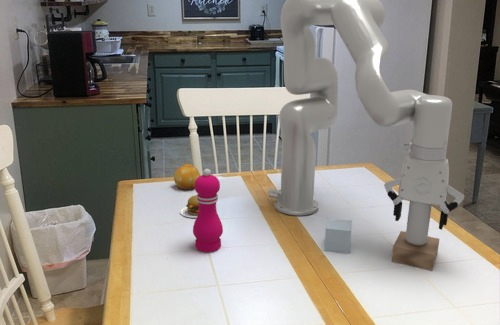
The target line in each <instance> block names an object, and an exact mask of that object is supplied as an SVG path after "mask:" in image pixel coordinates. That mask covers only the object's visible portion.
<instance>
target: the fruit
mask: <svg viewBox="0 0 500 325" xmlns="http://www.w3.org/2000/svg"><path fill="white" fill-rule="evenodd" d="M199 176H201V173H200V171H199V169H198V168H197V167H195V166H194V165H193V164H191V163H190V162H189V163H188V162H186V163H185V162H184V163H183V164H182V166H179V167H178V168H177V169H176V170H175V173H174V175H173V181H174V183H175V186H177V187H178V188H179V189H182V190H193V189H195V188H194V185H195V181H196V179H197V178H198V177H199Z"/></svg>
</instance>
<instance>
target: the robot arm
mask: <svg viewBox="0 0 500 325" xmlns="http://www.w3.org/2000/svg"><path fill="white" fill-rule="evenodd" d="M385 17H386V12H385V7H384V5H383V3H382V2H381V1H380V0H285V2H284V4H283V5H282V8H281V12H280V28H281V29H280V30H281V33H282V34H281V35H282V40H283V41H282V43H283V44H282V45H283V82H284V87H285V89H286V91H287V92H288V93H289V94H292V95H295V96H297V95H299V96H300V95H301V96H302V95H310V96H309V97H306V98H300V99H294V100H291V101H289V102H287V103H286V104H284V105H283V106H282V108H281V109H280V112H279V117H278V122H279V127H280V136H281V167H280V168H281V170H280V188H279V189H276V188H271V187H270V188H269V189H268V190H267V191H268V192H267V193H268V197H269V198H272V199H276V200H275V201H274V208H275V210H277V211H278V212H280V213H282V214H285V215H289V216H298V217H299V216H309V215H311V214H314V213H316V212H318V210H319V203H318V202H317V201H316V200H315V199H314V195H315V194H314V191H315V178H316V177H315V172H316V156H317V155H316V153H317V150H316V143H315V141H314V139H313V137H312V133H315V132H318V131H323V130H326V129H329V128H331V127H332V126H333V125H334V124H335V122H336V120H337V117H338V102H339V101H338V99H339V98H338V95H339V94H338V88H339V87H338V84H339V82H338V81H339V78H338V76H339V75H338V72H337V69H336V66H335V64H334V63H333V62H332V61H331V60H330V59H329V58H326V57H321V56H320V57H316V56H317V54H316V47H317V45H316V40H315V36H314V34H313V32H312V30H311V29H310V27H311V26H331V25H332V26H334V28H335V30H336V31H337V33H338V35H339V37H340V38H341V40H342V42H343V44H344V45H345V47H346V49H347V51H348V52H349V55H350V56H351V58H352V60H353V62H354V64H355V72H354V74H355V75H354V82H355V89H356V94H357V96H358V99H359V101H360V103H361V104H362V106H363V108H364V109H365V111H366V112H367V114H368V116H369V117H370V119H371V120H372V121H373V122H374V123H375V124H376V125H378V126H380V127H384V128H391V127H397V126H399V125H404V124H412V132H411V139H410V143H404V145H403V150H405V151H407V152H408V154H407V155H406V156H405V158H404V161H403V164H402V170H401V173H400V177H399V178H394V179H391V180H388V181H385V183H384V184H383V185H384V186H383V187H384V189H385V191H386V193H387V196H388V197H389V199H390V200H391V201H392V204H393V216H395V217H394V218H395V219H394V221H395V222H398V221H400V219H401V217H402V210H403V200H404V201H408V202H410V201H412V202H418V203H424V204H429V205H432V206H439V208H440V209H441V212H440V218H439V221H438V222H439V223H438V229H439V230H441V231H442V230H443V228H444V226H447V223H448V220H449V219H448V218H449V213H450V212H452V211H454V210H455V209H456V208H458V207H459V205H460V204H461V203H462V202H463V201H464V199H465V194H463V193H462V192H460V191H459V190H457V189H456V188H455V187H453V186H451V185H450V184H449V177H450V167H449V166H450V165H449V159H448V158H446V157H447V150H448V142H449V141H448V140H449V133H450V125H451V119H452V112H453V111H452V110H453V102H452V99H450V98H448V97H447V96H443V95H439V94H438V95H436V94H435V95H434V94H428V93H425V92H422V91H418V90H416V89H409V88H408V89H403V90H395V91H390V89H389V88H388V86H387V85H386V83H385V81H384V78H383V76H382V74H381V70H380V66H381V65H380V64H381V60H382V59H383V58H385V56H386V55H387V54H388V52H389V49H390V46H389V43H388V41H387V38H385V36H384V34H383V33H382V31H381V29H380V27H381V26H382V25H383V24H384V21H385ZM396 186H398V192H397V193H398V194H397V193H396V192H395V190H394V189H393V187H396ZM448 194H449V195H451V196H452V197H453V198H455V199H454V200H453V201H451V202H448V201H447V195H448Z"/></svg>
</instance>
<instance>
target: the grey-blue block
mask: <svg viewBox="0 0 500 325" xmlns="http://www.w3.org/2000/svg"><path fill="white" fill-rule="evenodd" d="M324 234H325V237H324V249H323V250H324V252H332V253H333V252H335V253H343V254H350V253H351V239H352V220H349V219H340V218H339V219H338V218H329V217H328V218H327V219H326V224H325V233H324Z"/></svg>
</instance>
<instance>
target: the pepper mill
mask: <svg viewBox="0 0 500 325" xmlns="http://www.w3.org/2000/svg"><path fill="white" fill-rule="evenodd" d="M211 172H212V171H211V169H209V168H205V169H204V170H203V171H202V173H203V174H202V175H201V174H200V176H199V177H198V178H197V179H196V181H195V185H194V188H193V189H194V190H195V192H196V195H197V201H198V202H199V212H198V215H196V217H197V218H195V221H194V223H193V227H192V233H193V236H194V237H195V240H194V241H195V243H194V244H195V245H194V246H195V247H194V248H195V249H196V250H197V251H199V252H203V253H213V252H217V251H218V250H220V249H221V246H222V239H221V238H220V237H221V236H222V235H223V233H224V229H223V223H222V221H221V218H220V216H219V214H218V211H217V202H218V201H219V198H218V197H219V194H218V193H219V191H220V190H221V184H220V180H219V178H218V177H216V175H213V174H212V173H211Z"/></svg>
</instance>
